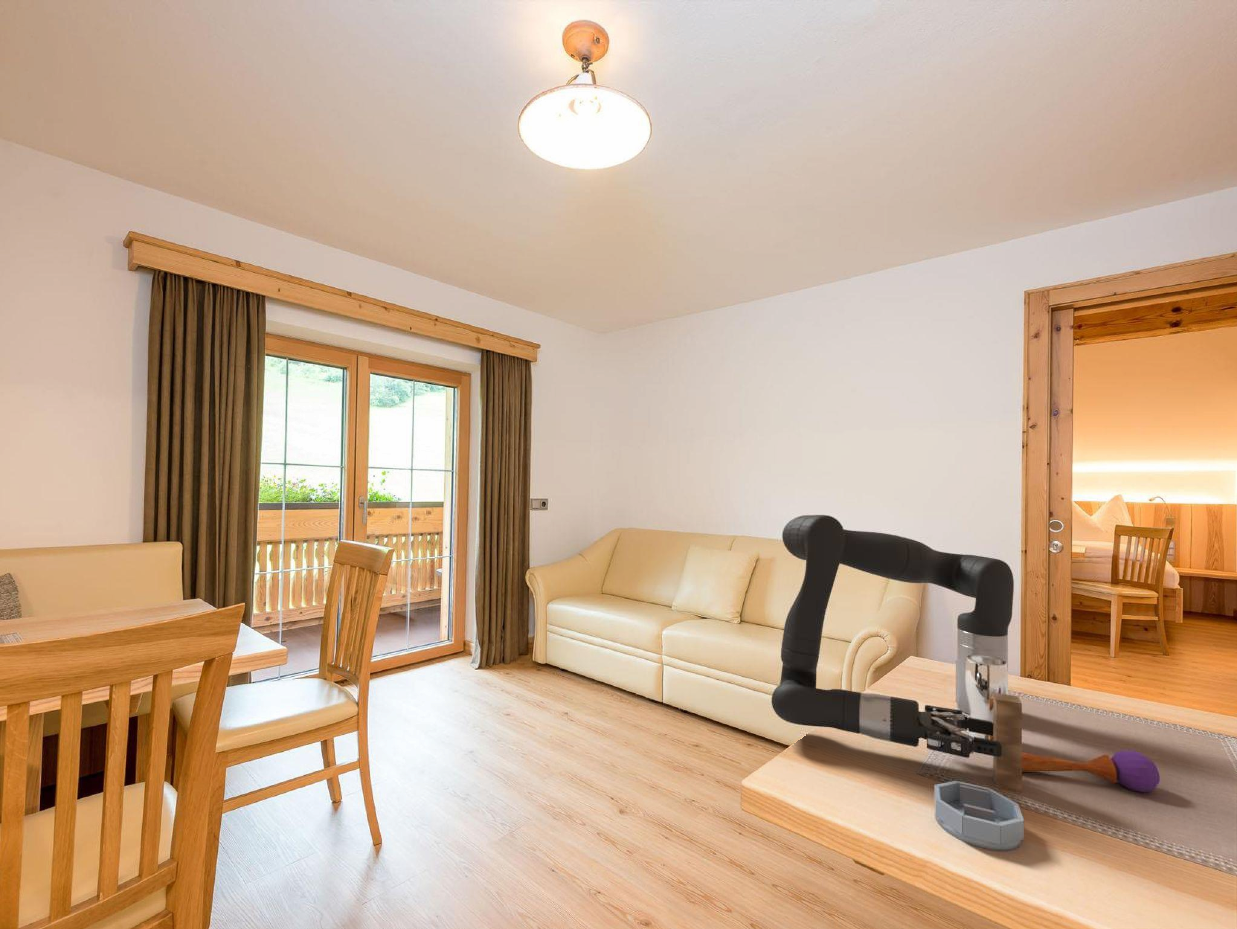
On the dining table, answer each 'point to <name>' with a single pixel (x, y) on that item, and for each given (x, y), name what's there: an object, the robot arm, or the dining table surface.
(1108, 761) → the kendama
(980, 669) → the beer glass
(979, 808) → the blue-grey octagonal holder
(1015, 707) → the wooden block
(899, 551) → the robot arm
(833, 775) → the dining table surface
